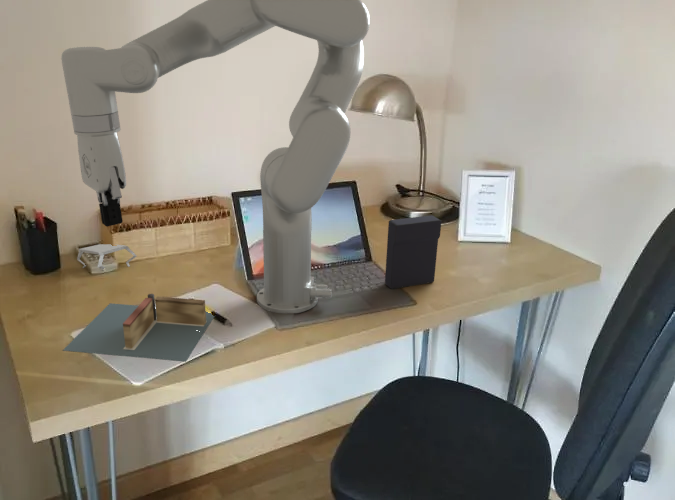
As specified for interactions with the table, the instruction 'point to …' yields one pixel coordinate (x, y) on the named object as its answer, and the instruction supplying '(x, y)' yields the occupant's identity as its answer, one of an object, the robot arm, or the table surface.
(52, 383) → the table surface
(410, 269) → the dark navy box
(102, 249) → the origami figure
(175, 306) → the fence fixed
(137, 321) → the fence gate
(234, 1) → the robot arm
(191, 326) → the card
